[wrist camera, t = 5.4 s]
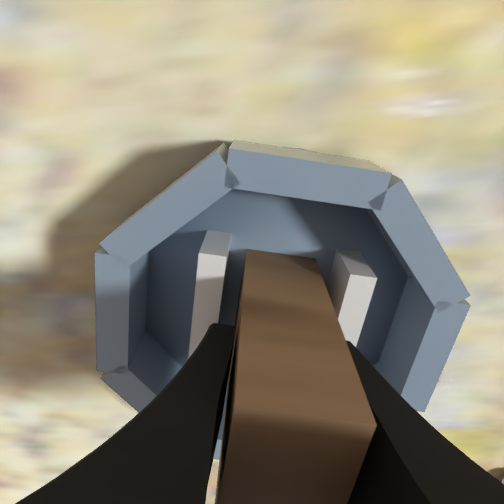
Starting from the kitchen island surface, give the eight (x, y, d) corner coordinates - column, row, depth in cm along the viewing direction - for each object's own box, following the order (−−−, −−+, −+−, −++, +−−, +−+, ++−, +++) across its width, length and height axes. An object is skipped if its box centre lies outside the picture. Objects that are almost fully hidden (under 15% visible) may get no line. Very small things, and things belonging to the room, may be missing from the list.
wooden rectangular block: (293, 352, 14) (323, 566, 8) (231, 344, 14) (209, 554, 8) (315, 258, 13) (376, 424, 6) (246, 248, 12) (234, 407, 6)
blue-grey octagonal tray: (375, 425, 16) (394, 480, 14) (121, 393, 16) (98, 445, 13) (468, 174, 12) (519, 193, 10) (125, 121, 11) (92, 127, 9)
